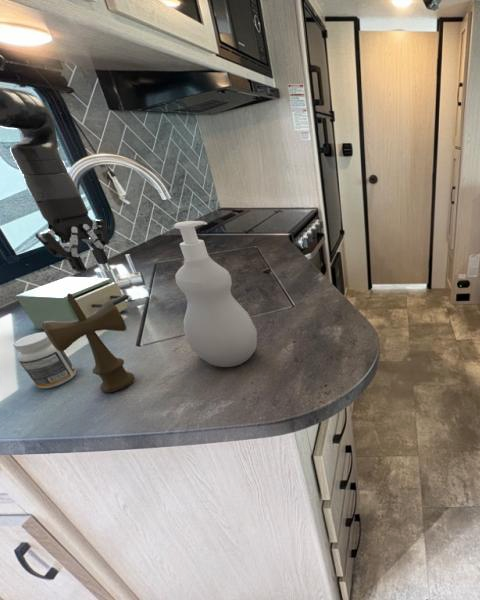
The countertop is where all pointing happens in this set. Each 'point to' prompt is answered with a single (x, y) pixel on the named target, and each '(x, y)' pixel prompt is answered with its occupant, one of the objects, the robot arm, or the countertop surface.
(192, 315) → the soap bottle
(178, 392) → the countertop surface
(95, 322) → the kendama
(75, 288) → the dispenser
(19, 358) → the pill bottle
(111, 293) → the drawer
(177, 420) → the countertop surface
